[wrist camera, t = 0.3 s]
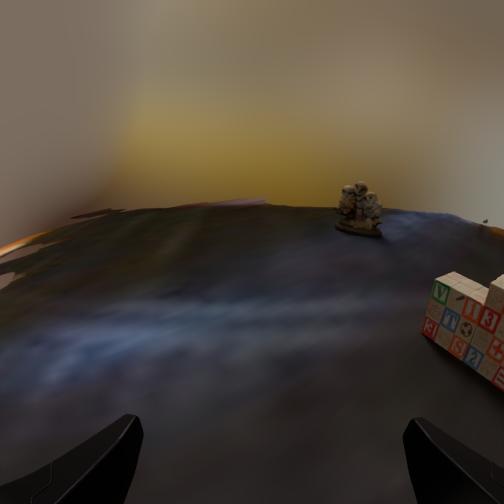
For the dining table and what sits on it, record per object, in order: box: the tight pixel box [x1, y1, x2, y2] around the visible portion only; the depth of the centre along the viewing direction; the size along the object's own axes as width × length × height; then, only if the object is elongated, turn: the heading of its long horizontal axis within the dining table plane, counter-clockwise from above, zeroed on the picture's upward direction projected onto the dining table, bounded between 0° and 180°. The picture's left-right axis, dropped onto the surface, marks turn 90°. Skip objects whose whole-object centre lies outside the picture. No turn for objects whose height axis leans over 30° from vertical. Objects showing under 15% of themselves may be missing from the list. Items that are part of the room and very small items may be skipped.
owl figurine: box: [334, 181, 382, 237], centre depth 92 cm, size 18×12×17 cm, turn 51°
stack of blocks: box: [421, 272, 504, 391], centre depth 28 cm, size 21×6×12 cm, turn 21°
